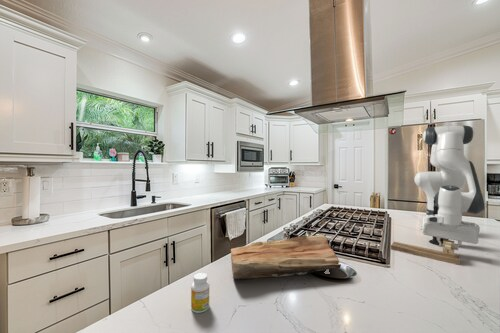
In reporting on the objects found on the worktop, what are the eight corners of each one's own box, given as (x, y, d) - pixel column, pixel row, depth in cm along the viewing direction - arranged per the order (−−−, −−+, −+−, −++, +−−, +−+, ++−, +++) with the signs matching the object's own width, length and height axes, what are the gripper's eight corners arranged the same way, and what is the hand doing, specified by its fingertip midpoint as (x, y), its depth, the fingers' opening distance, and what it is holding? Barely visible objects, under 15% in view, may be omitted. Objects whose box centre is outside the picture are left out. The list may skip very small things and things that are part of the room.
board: (394, 245, 124) (394, 241, 124) (459, 259, 106) (459, 255, 106) (390, 249, 118) (390, 245, 118) (459, 265, 100) (459, 260, 100)
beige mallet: (443, 251, 114) (443, 239, 114) (454, 253, 111) (454, 241, 111) (441, 258, 105) (442, 245, 105) (453, 261, 102) (453, 247, 102)
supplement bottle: (192, 302, 72) (192, 271, 72) (210, 301, 72) (210, 271, 72) (189, 313, 67) (189, 280, 66) (208, 313, 67) (208, 280, 67)
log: (327, 260, 102) (321, 226, 103) (350, 276, 85) (342, 236, 86) (233, 282, 96) (228, 246, 97) (237, 305, 79) (230, 261, 79)
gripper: (479, 222, 106) (478, 252, 106) (424, 215, 120) (423, 241, 120) (480, 225, 101) (479, 256, 102) (422, 217, 115) (421, 244, 115)
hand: (448, 248), depth 111 cm, fingers closed on beige mallet, 4 cm apart
